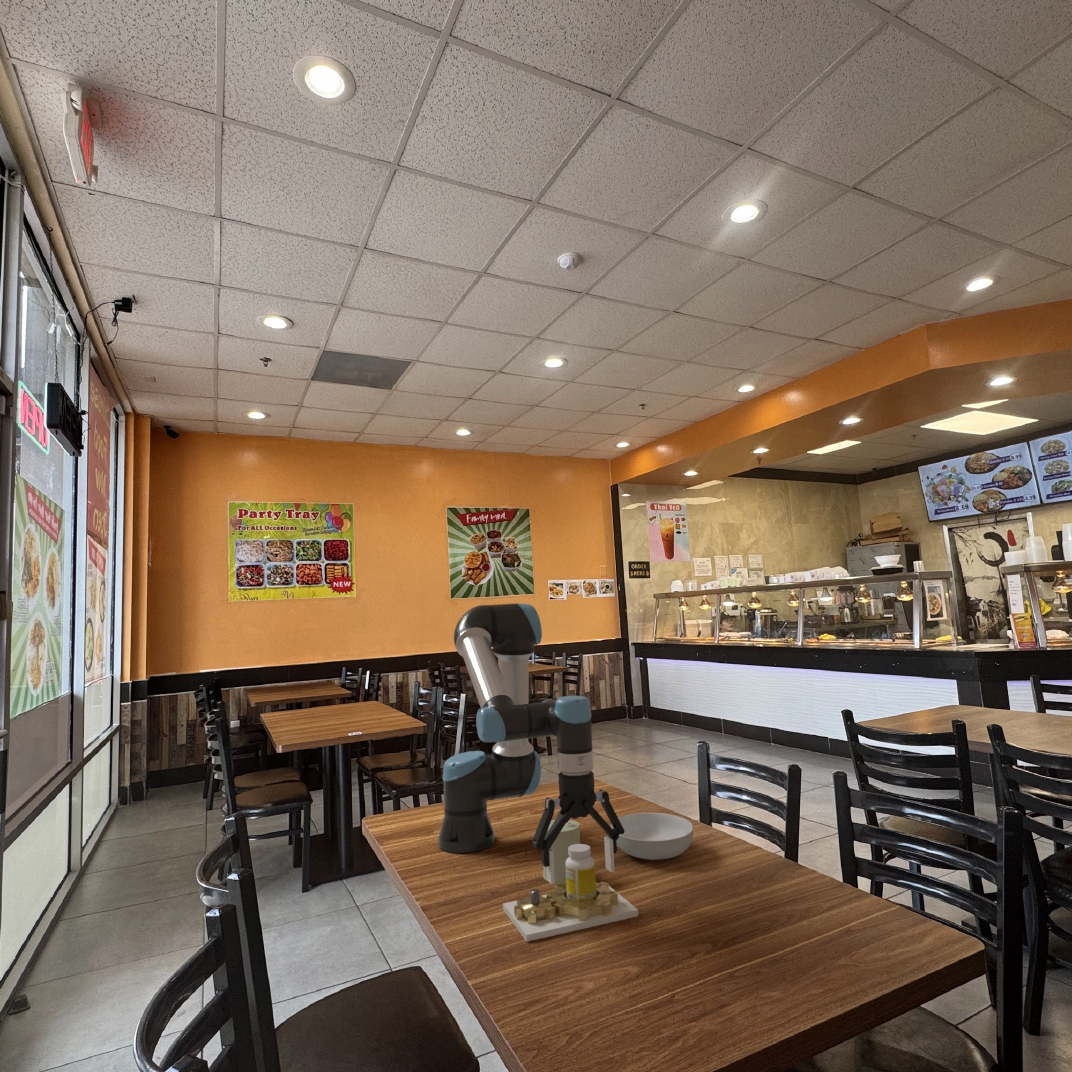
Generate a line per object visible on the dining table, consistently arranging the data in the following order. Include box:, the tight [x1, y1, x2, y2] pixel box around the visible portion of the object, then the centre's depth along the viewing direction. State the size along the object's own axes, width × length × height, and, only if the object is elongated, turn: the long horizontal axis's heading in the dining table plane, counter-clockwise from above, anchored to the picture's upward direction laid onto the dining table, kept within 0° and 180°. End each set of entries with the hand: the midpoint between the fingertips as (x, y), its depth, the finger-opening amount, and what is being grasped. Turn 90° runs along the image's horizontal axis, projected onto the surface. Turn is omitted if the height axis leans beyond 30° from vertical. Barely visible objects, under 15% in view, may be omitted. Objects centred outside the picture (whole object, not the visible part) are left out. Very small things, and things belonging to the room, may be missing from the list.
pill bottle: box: [565, 843, 597, 902], centre depth 139 cm, size 6×6×11 cm
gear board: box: [502, 884, 639, 942], centre depth 137 cm, size 15×24×1 cm, turn 110°
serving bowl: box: [609, 812, 694, 861], centre depth 168 cm, size 21×21×7 cm
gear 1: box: [514, 888, 557, 924], centre depth 135 cm, size 8×9×4 cm
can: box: [542, 819, 581, 885], centre depth 156 cm, size 9×9×12 cm
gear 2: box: [545, 881, 619, 921], centre depth 138 cm, size 14×14×2 cm
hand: (580, 876), depth 139 cm, fingers open, 13 cm apart
